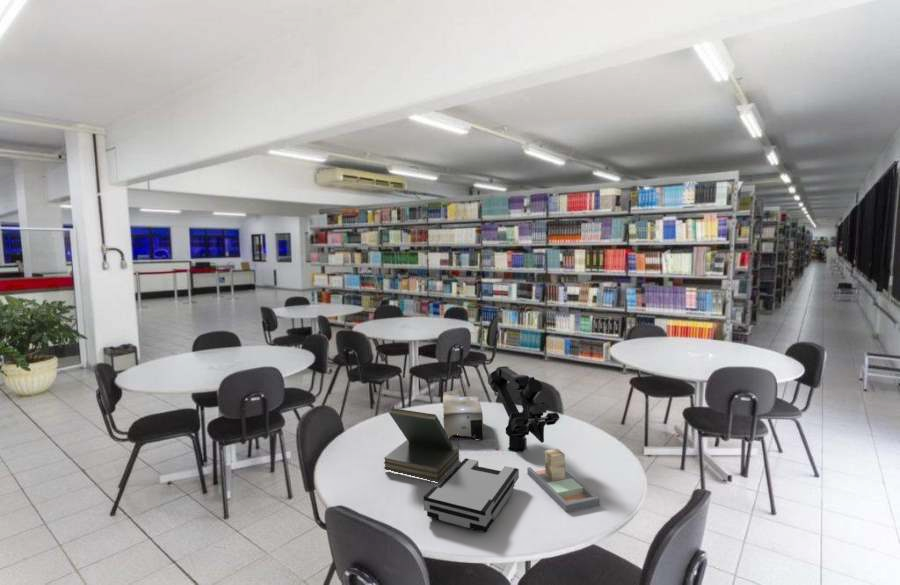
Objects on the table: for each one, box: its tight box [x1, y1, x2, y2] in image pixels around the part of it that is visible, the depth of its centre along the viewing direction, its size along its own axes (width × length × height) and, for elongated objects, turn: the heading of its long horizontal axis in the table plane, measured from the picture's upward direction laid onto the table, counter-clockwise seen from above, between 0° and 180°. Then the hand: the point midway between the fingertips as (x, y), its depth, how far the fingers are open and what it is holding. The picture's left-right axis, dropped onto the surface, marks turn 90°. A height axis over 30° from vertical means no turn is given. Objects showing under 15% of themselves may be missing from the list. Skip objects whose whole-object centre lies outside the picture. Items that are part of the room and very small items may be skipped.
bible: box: [383, 407, 460, 482], centre depth 181 cm, size 23×20×25 cm
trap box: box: [526, 466, 600, 513], centre depth 164 cm, size 27×12×2 cm, turn 17°
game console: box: [423, 457, 520, 533], centre depth 155 cm, size 21×32×8 cm, turn 154°
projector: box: [442, 389, 485, 440], centre depth 222 cm, size 18×33×13 cm, turn 1°
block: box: [544, 448, 566, 481], centre depth 167 cm, size 5×5×9 cm
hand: (542, 442), depth 175 cm, fingers closed
